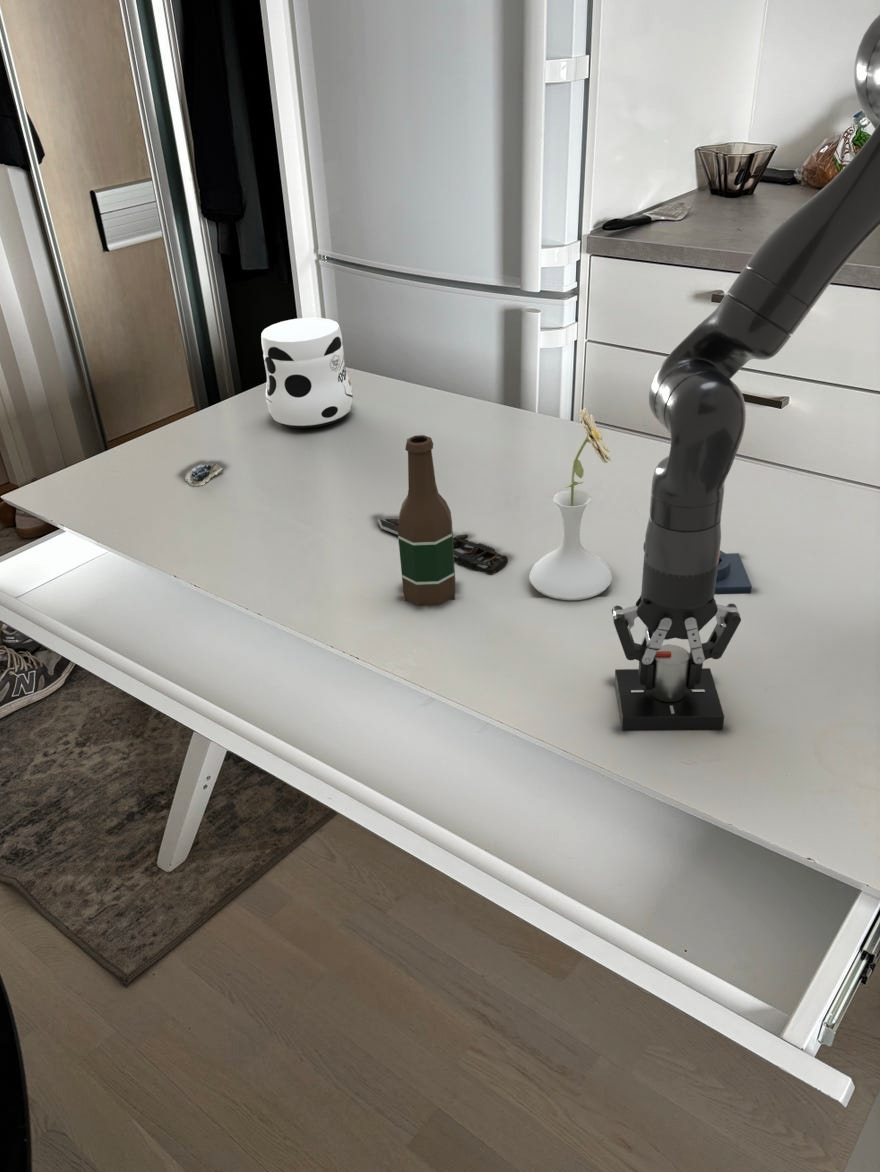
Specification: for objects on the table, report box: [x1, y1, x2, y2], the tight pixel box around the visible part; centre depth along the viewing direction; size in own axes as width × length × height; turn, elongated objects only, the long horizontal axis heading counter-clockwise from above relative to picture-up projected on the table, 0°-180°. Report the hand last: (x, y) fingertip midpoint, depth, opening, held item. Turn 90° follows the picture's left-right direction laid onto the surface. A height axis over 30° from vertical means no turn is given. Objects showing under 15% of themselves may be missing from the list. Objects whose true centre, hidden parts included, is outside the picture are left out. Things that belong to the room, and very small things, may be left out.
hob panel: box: [614, 667, 725, 732], centre depth 113 cm, size 11×9×3 cm
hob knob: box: [650, 644, 690, 702], centre depth 111 cm, size 4×4×6 cm
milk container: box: [260, 317, 354, 429], centre depth 193 cm, size 17×17×18 cm
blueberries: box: [184, 463, 224, 487], centre depth 178 cm, size 7×8×2 cm
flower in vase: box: [529, 407, 613, 601], centre depth 131 cm, size 13×11×25 cm
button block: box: [714, 549, 753, 595], centre depth 135 cm, size 11×9×4 cm
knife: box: [377, 518, 509, 574], centre depth 151 cm, size 25×6×1 cm, turn 41°
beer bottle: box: [397, 434, 456, 607], centre depth 132 cm, size 8×8×24 cm
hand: (668, 684), depth 111 cm, fingers closed on hob knob, 4 cm apart
